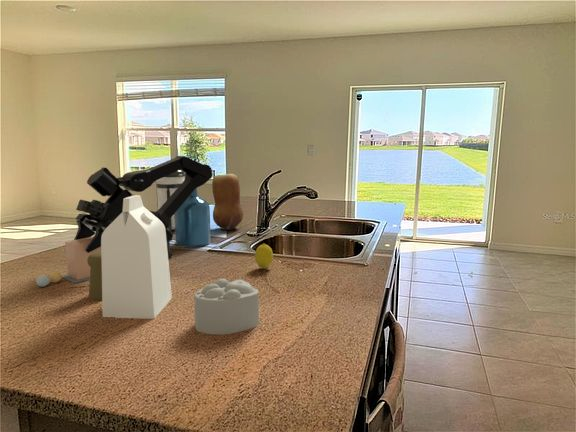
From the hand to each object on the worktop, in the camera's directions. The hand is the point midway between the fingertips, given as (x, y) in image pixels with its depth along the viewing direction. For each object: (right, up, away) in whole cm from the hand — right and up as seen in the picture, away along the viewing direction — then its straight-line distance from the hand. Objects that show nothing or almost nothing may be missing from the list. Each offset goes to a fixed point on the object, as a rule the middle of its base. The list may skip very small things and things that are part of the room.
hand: (79, 249), depth 114 cm
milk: (+24, -12, -20) cm, 34 cm away
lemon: (+52, -7, +9) cm, 53 cm away
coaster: (+1, -8, +2) cm, 8 cm away
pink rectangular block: (+1, -7, +2) cm, 8 cm away
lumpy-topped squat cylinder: (+46, -14, -28) cm, 55 cm away
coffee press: (+9, +3, +65) cm, 66 cm away
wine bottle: (+23, -1, +40) cm, 46 cm away
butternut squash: (+32, +3, +67) cm, 74 cm away
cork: (+12, -11, -13) cm, 21 cm away
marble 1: (-6, -9, -7) cm, 13 cm away
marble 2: (-5, -9, -4) cm, 11 cm away
